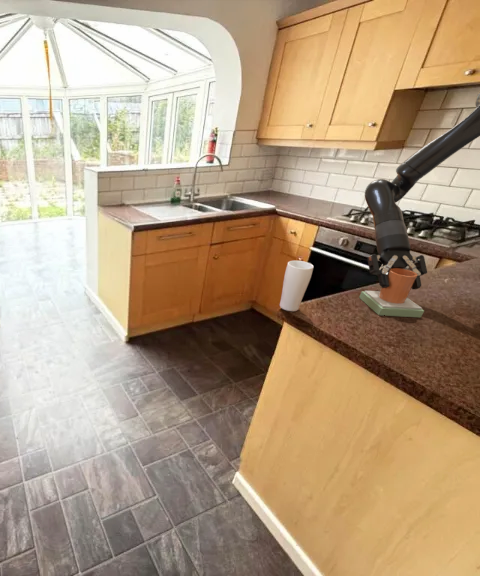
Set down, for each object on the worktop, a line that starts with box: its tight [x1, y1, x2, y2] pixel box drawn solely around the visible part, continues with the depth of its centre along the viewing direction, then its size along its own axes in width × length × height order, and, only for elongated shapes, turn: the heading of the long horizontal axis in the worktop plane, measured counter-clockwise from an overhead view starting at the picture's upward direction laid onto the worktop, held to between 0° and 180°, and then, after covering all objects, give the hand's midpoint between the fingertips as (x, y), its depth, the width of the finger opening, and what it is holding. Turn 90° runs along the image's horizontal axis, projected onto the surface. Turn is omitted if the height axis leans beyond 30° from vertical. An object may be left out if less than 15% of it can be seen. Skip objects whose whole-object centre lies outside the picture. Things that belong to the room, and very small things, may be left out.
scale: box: [358, 290, 425, 318], centre depth 100 cm, size 11×11×3 cm
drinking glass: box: [279, 260, 314, 312], centre depth 98 cm, size 7×7×15 cm
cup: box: [379, 268, 417, 304], centre depth 97 cm, size 6×6×9 cm
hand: (400, 288), depth 96 cm, fingers open, 7 cm apart
